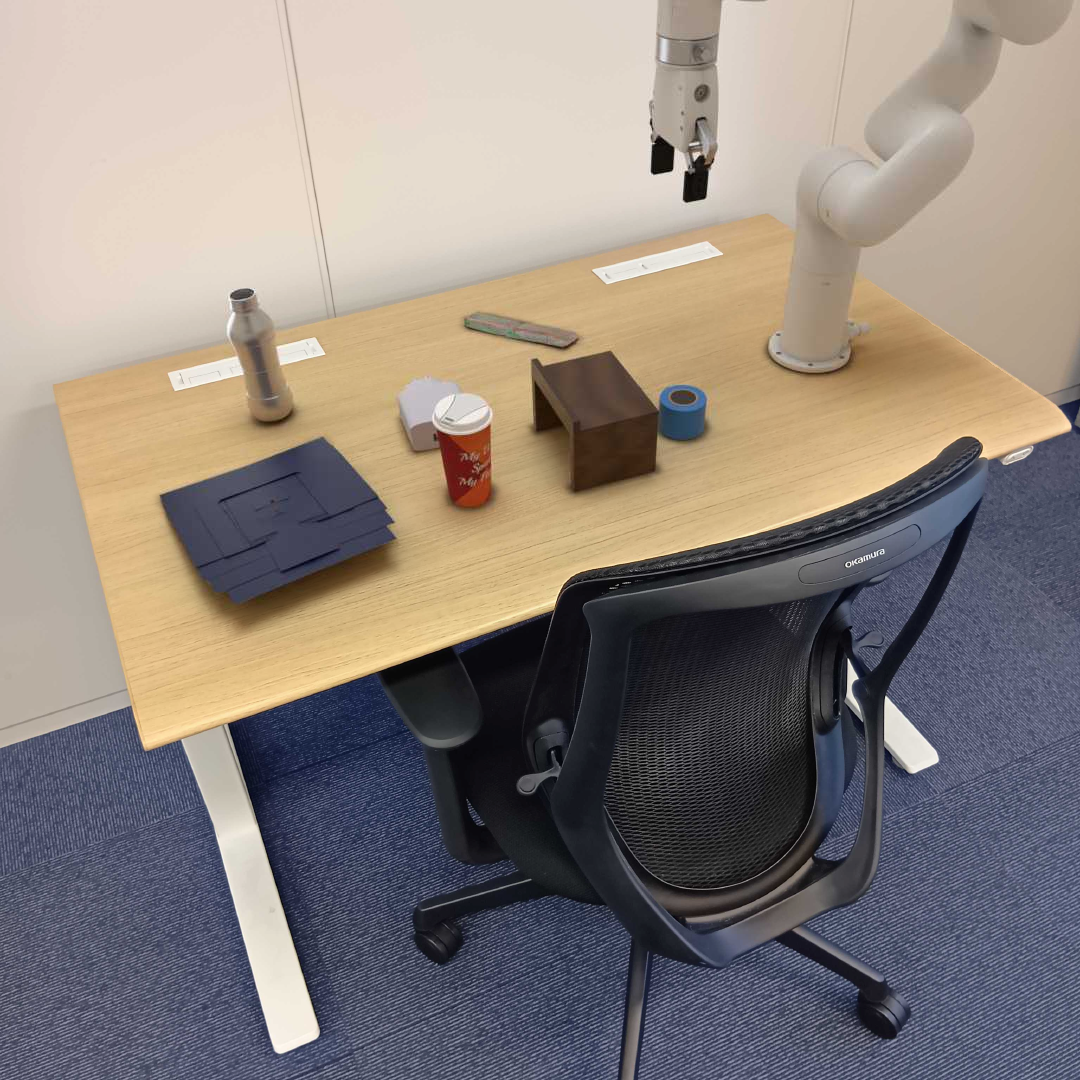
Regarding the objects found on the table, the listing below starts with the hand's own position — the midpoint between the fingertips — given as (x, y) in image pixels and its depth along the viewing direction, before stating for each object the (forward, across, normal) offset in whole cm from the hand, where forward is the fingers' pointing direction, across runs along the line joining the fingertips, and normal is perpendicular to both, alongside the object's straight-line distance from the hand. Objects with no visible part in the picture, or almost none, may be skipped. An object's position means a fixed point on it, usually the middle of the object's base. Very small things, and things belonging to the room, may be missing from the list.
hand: (677, 186), depth 131 cm
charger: (+31, +4, +36) cm, 47 cm away
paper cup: (+31, -15, +36) cm, 50 cm away
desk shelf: (+30, -12, +17) cm, 37 cm away
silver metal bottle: (+31, +14, +58) cm, 67 cm away
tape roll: (+30, -12, +3) cm, 33 cm away
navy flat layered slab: (+31, -12, +61) cm, 69 cm away
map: (+31, +22, +16) cm, 41 cm away
